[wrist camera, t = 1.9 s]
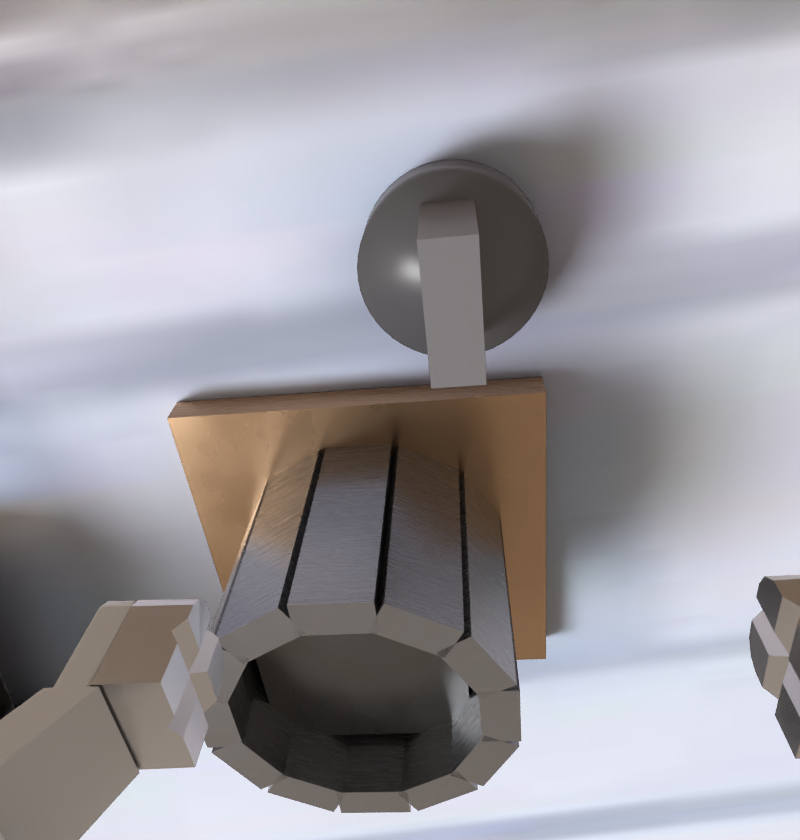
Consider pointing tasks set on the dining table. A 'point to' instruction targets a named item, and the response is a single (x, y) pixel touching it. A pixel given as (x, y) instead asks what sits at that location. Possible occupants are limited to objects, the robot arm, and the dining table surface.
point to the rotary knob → (453, 265)
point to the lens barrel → (372, 584)
